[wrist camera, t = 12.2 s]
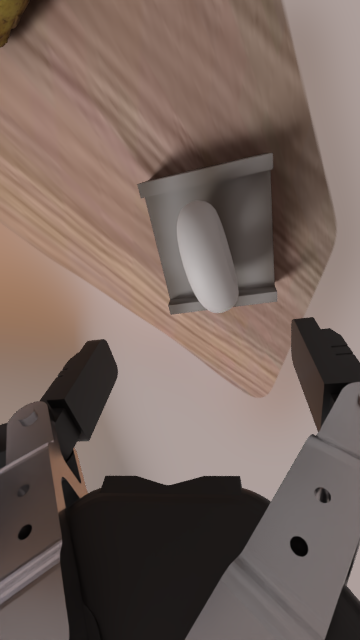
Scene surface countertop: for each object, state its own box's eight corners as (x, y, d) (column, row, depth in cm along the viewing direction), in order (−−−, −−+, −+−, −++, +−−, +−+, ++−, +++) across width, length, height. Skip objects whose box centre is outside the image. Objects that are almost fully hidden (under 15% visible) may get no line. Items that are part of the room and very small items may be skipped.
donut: (178, 201, 27) (160, 222, 18) (212, 187, 26) (209, 202, 17) (209, 289, 31) (206, 339, 23) (239, 280, 30) (247, 329, 22)
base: (175, 297, 36) (170, 314, 32) (148, 180, 29) (137, 184, 25) (270, 284, 33) (277, 301, 29) (264, 153, 26) (272, 152, 22)
